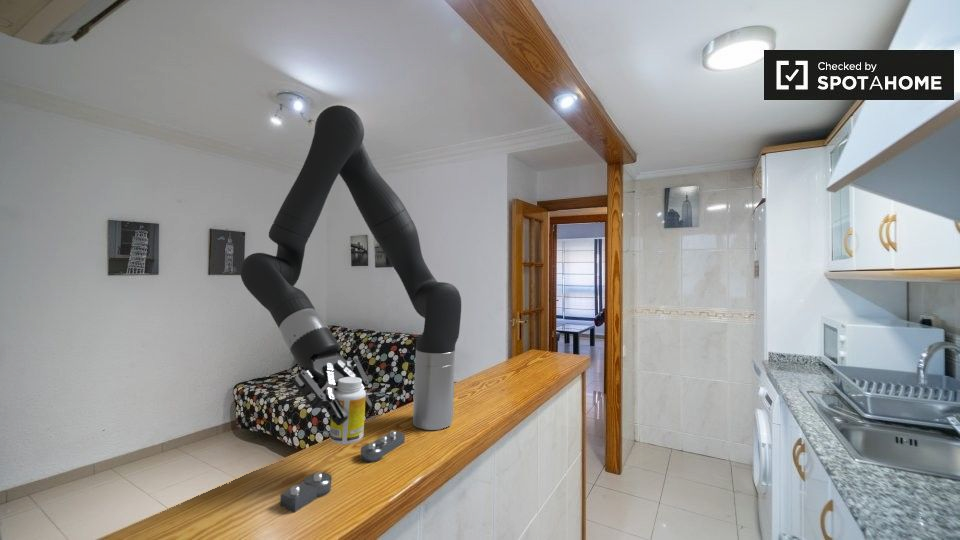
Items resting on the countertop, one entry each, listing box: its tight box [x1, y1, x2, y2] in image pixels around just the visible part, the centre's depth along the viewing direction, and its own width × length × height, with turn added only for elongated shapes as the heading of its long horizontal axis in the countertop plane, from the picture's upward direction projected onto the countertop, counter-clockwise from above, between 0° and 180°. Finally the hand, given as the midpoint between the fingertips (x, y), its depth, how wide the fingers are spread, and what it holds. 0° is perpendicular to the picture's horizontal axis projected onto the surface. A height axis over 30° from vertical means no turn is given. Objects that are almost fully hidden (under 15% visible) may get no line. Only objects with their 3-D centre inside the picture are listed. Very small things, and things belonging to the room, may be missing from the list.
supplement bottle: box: [329, 377, 367, 445], centre depth 67 cm, size 6×6×10 cm
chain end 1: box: [279, 471, 332, 513], centre depth 60 cm, size 8×4×3 cm, turn 156°
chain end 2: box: [360, 430, 406, 463], centre depth 76 cm, size 10×4×3 cm, turn 156°
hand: (356, 416), depth 67 cm, fingers closed on supplement bottle, 5 cm apart
